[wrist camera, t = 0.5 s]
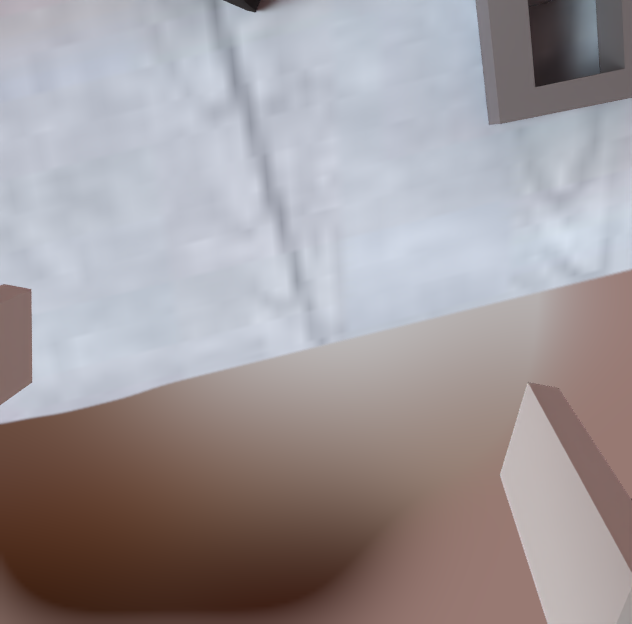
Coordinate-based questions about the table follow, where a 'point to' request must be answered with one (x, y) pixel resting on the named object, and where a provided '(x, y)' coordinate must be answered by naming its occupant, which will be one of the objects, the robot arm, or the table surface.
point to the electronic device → (245, 4)
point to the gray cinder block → (517, 62)
